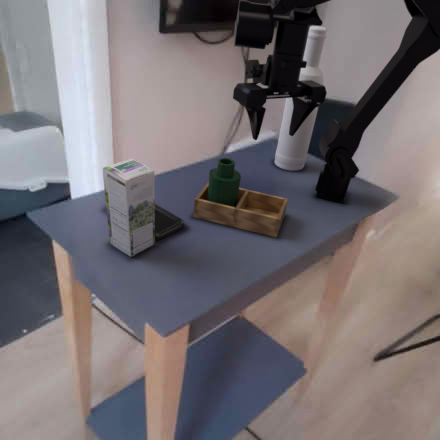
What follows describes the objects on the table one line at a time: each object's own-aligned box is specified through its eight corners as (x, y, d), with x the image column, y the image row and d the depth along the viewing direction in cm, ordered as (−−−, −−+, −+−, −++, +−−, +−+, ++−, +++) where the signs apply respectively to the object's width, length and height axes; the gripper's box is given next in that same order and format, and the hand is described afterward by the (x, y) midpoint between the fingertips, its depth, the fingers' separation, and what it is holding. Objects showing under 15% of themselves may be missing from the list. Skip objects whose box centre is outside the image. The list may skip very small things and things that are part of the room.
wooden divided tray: (284, 215, 82) (288, 198, 80) (276, 237, 76) (280, 219, 73) (207, 197, 85) (208, 180, 82) (193, 217, 79) (194, 199, 76)
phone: (155, 236, 70) (103, 204, 77) (155, 242, 71) (104, 209, 78) (186, 221, 75) (135, 191, 81) (186, 226, 76) (135, 196, 82)
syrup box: (134, 232, 73) (129, 156, 63) (156, 245, 70) (154, 168, 61) (109, 244, 69) (100, 165, 60) (131, 259, 67) (126, 179, 57)
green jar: (239, 205, 82) (245, 158, 76) (231, 218, 78) (237, 171, 71) (212, 198, 83) (216, 152, 77) (203, 211, 79) (206, 164, 72)
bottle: (271, 167, 100) (296, 26, 80) (276, 155, 106) (302, 22, 86) (301, 173, 99) (336, 32, 79) (306, 162, 104) (338, 27, 84)
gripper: (303, 42, 81) (287, 120, 91) (223, 42, 73) (216, 127, 84) (338, 55, 74) (317, 138, 84) (254, 56, 66) (242, 147, 77)
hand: (273, 137), depth 82 cm, fingers open, 9 cm apart
